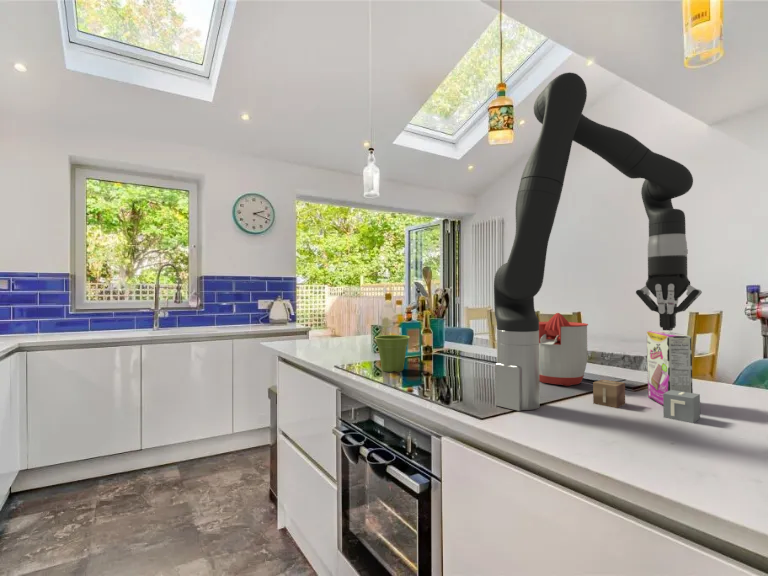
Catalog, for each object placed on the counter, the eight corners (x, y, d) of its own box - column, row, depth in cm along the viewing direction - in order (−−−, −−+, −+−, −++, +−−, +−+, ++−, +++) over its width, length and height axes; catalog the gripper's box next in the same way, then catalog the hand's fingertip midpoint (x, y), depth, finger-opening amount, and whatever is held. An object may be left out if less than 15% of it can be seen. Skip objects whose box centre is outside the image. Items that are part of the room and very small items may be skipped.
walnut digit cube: (616, 408, 91) (615, 385, 91) (593, 404, 95) (592, 381, 95) (625, 404, 94) (625, 382, 94) (602, 400, 98) (602, 378, 98)
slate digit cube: (693, 423, 80) (692, 397, 80) (663, 418, 84) (663, 393, 84) (700, 418, 83) (699, 393, 83) (671, 413, 87) (670, 389, 87)
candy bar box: (646, 397, 100) (645, 330, 100) (669, 398, 99) (668, 330, 99) (668, 410, 89) (667, 335, 89) (694, 411, 88) (693, 335, 88)
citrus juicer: (519, 383, 116) (518, 313, 116) (541, 374, 129) (540, 311, 129) (578, 392, 106) (577, 314, 106) (595, 381, 119) (594, 312, 119)
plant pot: (380, 366, 144) (379, 334, 144) (413, 368, 141) (413, 335, 141) (370, 372, 132) (370, 338, 133) (405, 374, 129) (405, 339, 129)
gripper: (629, 256, 97) (630, 329, 97) (697, 252, 87) (698, 333, 87) (640, 258, 102) (641, 327, 102) (706, 254, 92) (707, 331, 92)
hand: (667, 330), depth 94 cm, fingers closed
